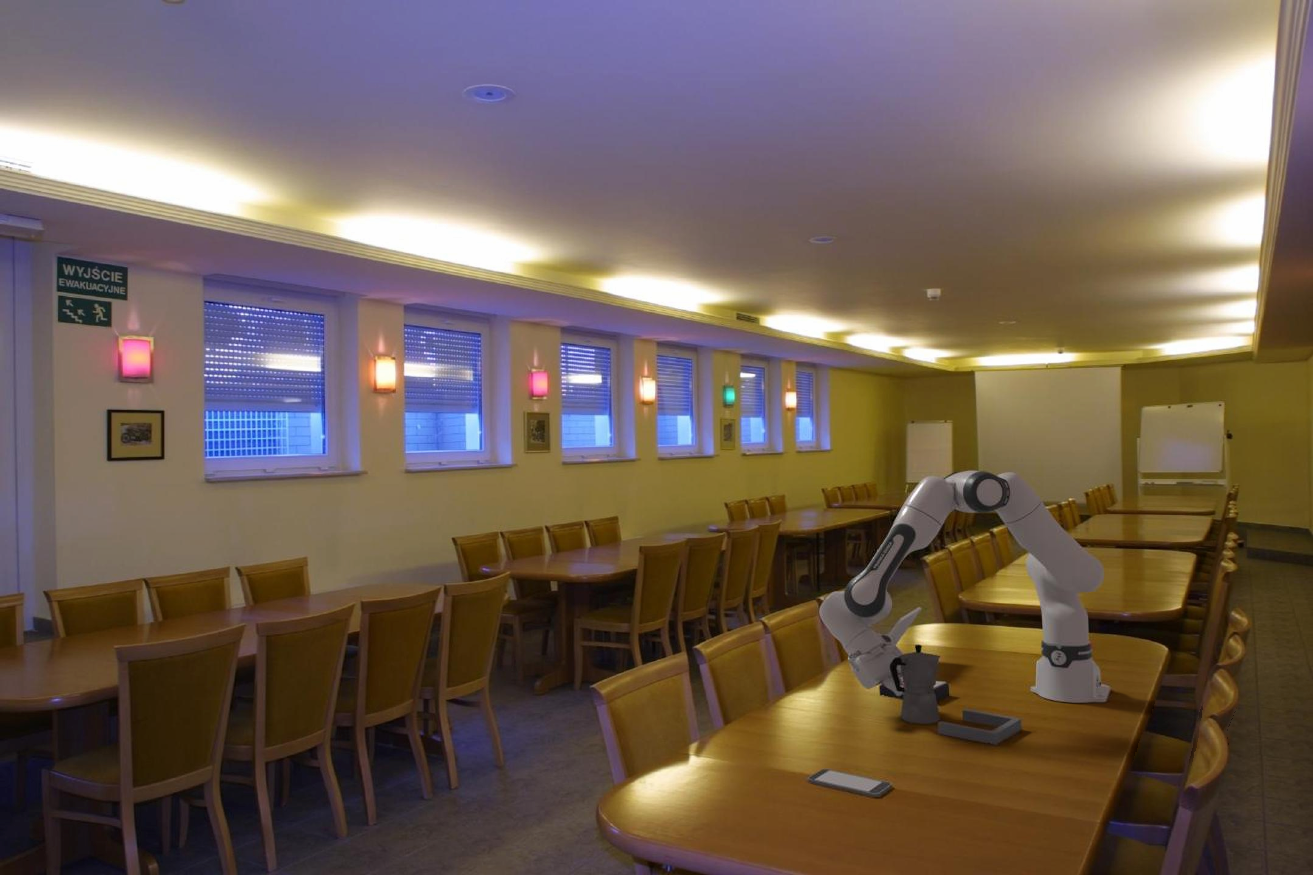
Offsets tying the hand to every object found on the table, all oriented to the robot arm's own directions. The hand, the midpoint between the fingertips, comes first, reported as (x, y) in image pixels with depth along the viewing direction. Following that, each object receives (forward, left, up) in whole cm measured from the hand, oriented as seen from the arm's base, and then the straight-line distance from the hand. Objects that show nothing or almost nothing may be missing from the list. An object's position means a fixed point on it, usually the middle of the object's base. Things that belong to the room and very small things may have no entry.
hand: (902, 693), depth 222 cm
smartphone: (+49, +14, -6) cm, 51 cm away
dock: (0, +19, -6) cm, 20 cm away
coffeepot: (0, +4, -6) cm, 7 cm away
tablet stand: (-48, -29, -6) cm, 57 cm away
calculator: (-20, -7, -6) cm, 23 cm away
